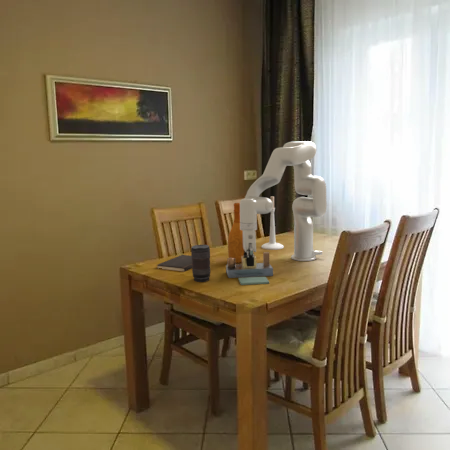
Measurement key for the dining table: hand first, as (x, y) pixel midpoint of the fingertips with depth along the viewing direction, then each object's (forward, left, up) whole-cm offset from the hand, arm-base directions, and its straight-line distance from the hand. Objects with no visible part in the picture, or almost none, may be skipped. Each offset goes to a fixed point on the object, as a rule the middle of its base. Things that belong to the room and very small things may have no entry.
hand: (248, 263), depth 201 cm
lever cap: (0, 0, -1) cm, 1 cm away
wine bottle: (+2, -24, -5) cm, 25 cm away
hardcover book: (+30, -23, -6) cm, 38 cm away
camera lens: (+22, +6, -5) cm, 23 cm away
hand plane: (0, 0, -5) cm, 5 cm away
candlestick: (-22, -54, -5) cm, 59 cm away
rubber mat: (0, +12, -5) cm, 13 cm away
